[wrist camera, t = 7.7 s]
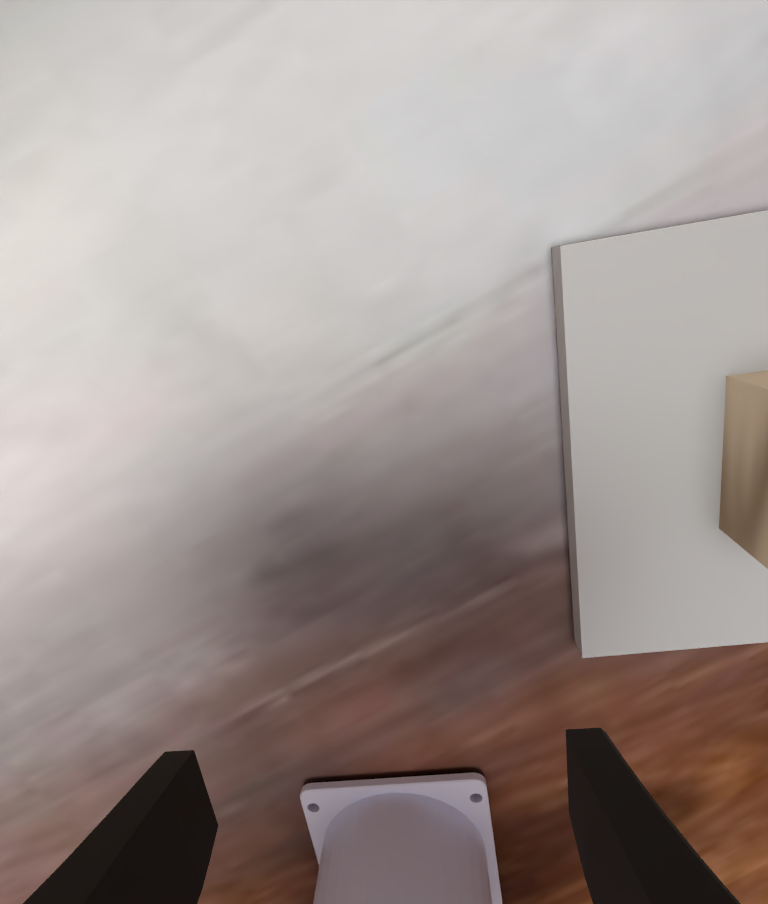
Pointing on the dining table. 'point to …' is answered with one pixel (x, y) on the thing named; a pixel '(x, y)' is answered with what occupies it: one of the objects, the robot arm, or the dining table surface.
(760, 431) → the birch cube
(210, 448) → the dining table surface
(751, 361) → the light gray board
